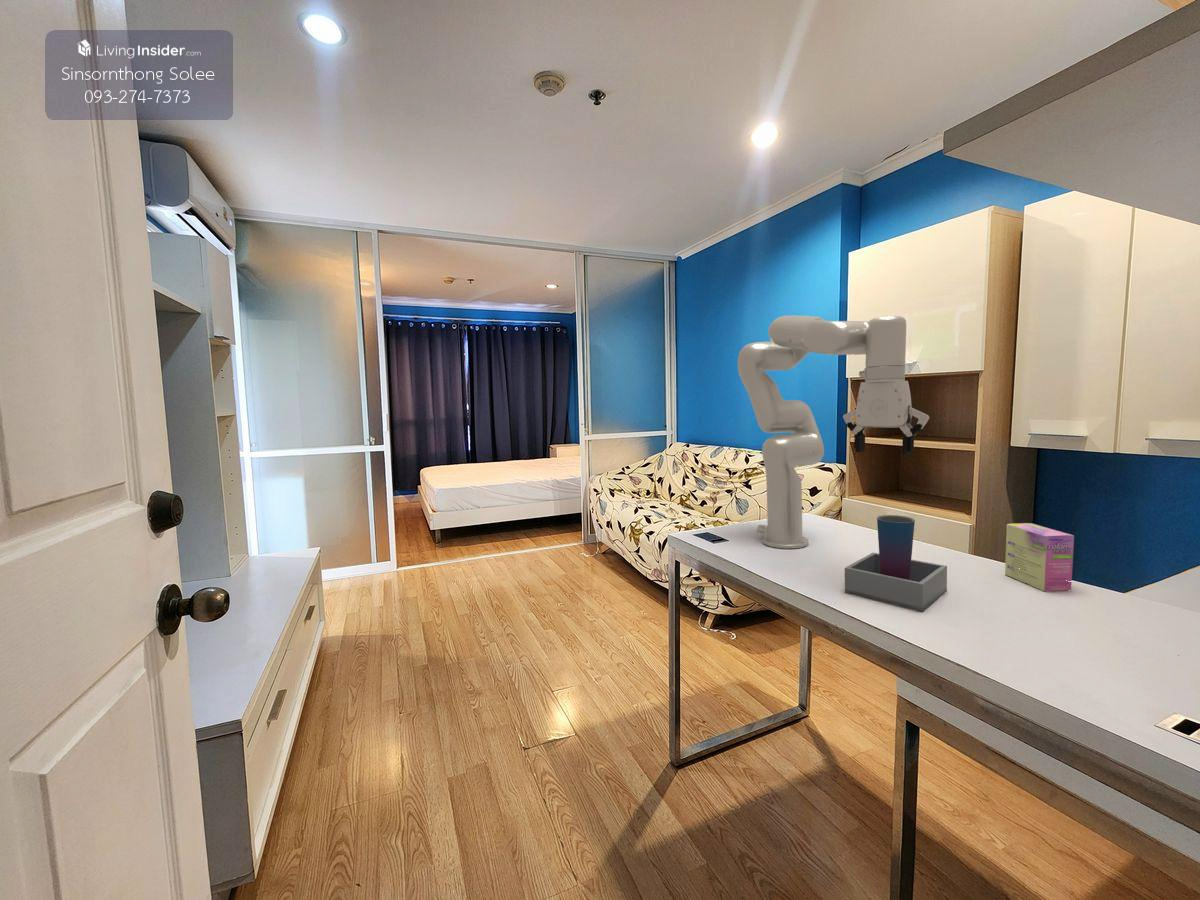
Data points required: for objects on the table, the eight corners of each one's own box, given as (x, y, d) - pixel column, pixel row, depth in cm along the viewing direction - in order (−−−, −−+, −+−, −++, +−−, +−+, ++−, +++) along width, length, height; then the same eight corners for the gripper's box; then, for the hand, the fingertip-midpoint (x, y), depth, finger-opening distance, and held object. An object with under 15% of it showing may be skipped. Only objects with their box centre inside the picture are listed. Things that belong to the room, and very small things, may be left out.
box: (1072, 591, 102) (1074, 534, 101) (1044, 592, 102) (1045, 535, 101) (1030, 574, 112) (1031, 522, 111) (1004, 575, 112) (1005, 523, 111)
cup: (921, 593, 103) (922, 521, 101) (888, 595, 102) (889, 523, 101) (900, 581, 109) (901, 514, 108) (869, 583, 109) (870, 515, 108)
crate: (844, 592, 107) (844, 567, 106) (872, 575, 116) (872, 552, 116) (922, 612, 96) (922, 584, 95) (946, 591, 105) (947, 565, 104)
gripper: (836, 377, 113) (835, 452, 115) (923, 373, 100) (920, 458, 102) (852, 376, 118) (850, 448, 120) (936, 372, 104) (933, 454, 106)
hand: (882, 453), depth 111 cm, fingers open, 9 cm apart
